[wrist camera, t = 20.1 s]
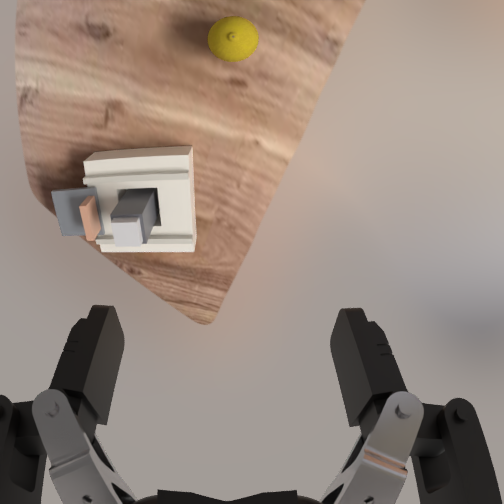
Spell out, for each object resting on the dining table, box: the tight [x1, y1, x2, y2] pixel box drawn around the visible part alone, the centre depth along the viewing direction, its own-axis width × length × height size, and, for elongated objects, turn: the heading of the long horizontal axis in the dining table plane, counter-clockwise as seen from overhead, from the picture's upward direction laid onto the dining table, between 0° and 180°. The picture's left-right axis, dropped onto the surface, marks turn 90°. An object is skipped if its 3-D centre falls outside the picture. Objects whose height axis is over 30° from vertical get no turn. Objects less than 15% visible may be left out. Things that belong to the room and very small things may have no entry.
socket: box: [83, 146, 197, 252], centre depth 42 cm, size 14×14×5 cm
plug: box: [110, 188, 160, 247], centre depth 39 cm, size 4×4×10 cm
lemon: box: [208, 16, 259, 62], centre depth 29 cm, size 6×6×8 cm
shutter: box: [51, 187, 105, 241], centre depth 38 cm, size 7×7×4 cm
